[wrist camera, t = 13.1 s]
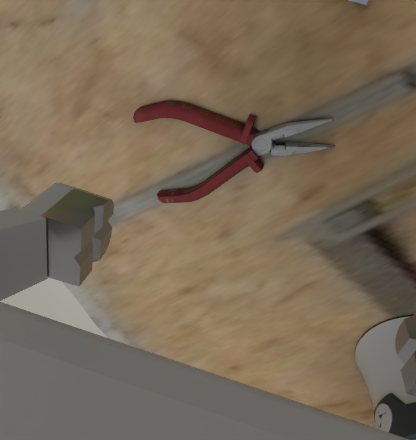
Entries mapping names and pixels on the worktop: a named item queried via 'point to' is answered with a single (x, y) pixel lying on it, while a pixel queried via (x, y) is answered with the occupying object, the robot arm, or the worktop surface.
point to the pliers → (235, 131)
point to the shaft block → (360, 1)
